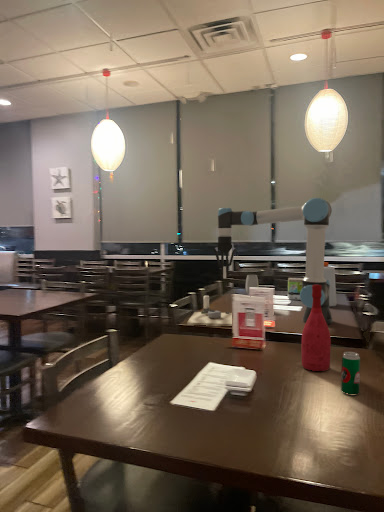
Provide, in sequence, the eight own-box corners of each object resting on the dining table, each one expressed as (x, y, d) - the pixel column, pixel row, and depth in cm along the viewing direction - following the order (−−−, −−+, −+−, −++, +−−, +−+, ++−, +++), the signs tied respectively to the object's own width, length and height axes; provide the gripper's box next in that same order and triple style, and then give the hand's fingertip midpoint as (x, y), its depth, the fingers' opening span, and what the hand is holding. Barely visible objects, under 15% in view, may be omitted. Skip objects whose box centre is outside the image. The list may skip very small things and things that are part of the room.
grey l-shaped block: (223, 317, 207) (223, 299, 206) (212, 319, 204) (212, 300, 203) (210, 312, 220) (210, 295, 219) (199, 314, 216) (199, 296, 216)
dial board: (239, 315, 219) (239, 311, 219) (237, 327, 194) (237, 321, 194) (194, 314, 224) (194, 309, 223) (187, 325, 198) (187, 320, 198)
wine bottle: (330, 364, 139) (331, 283, 137) (330, 374, 130) (332, 286, 128) (301, 362, 142) (303, 282, 140) (300, 371, 133) (301, 285, 131)
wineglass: (258, 307, 244) (258, 274, 242) (259, 310, 235) (259, 276, 234) (244, 307, 245) (244, 274, 243) (245, 309, 236) (245, 276, 235)
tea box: (288, 299, 269) (288, 279, 268) (287, 297, 279) (287, 277, 278) (310, 300, 267) (311, 279, 266) (308, 298, 277) (309, 277, 276)
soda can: (357, 397, 111) (358, 357, 111) (339, 393, 114) (340, 354, 113) (360, 391, 116) (361, 352, 115) (342, 388, 118) (343, 350, 118)
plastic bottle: (338, 307, 244) (339, 263, 242) (314, 307, 244) (315, 263, 242) (330, 302, 259) (331, 261, 257) (307, 302, 259) (308, 261, 257)
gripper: (236, 235, 214) (236, 277, 216) (213, 235, 216) (213, 277, 218) (236, 236, 207) (236, 279, 209) (212, 236, 209) (212, 278, 211)
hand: (224, 278), depth 213 cm, fingers closed
